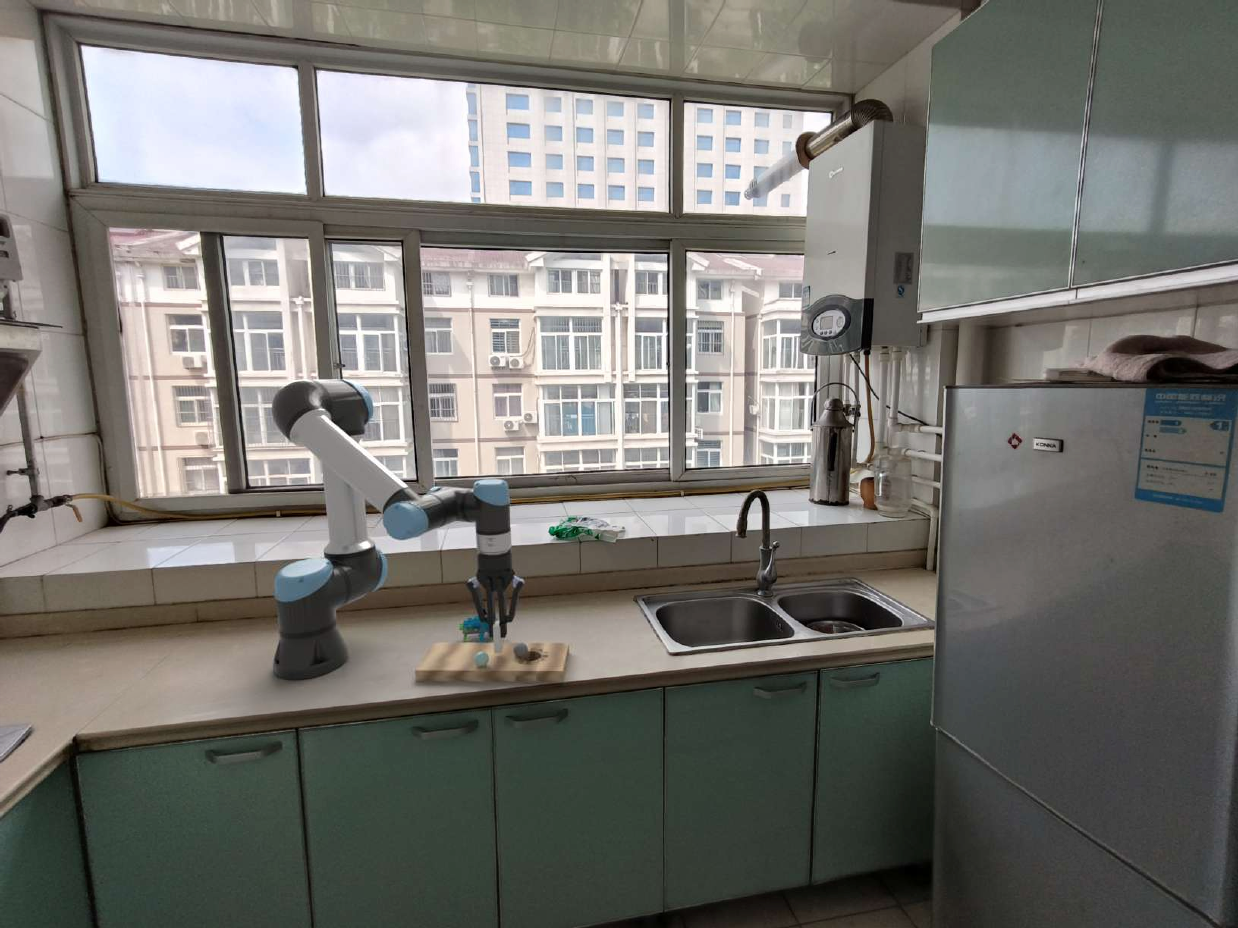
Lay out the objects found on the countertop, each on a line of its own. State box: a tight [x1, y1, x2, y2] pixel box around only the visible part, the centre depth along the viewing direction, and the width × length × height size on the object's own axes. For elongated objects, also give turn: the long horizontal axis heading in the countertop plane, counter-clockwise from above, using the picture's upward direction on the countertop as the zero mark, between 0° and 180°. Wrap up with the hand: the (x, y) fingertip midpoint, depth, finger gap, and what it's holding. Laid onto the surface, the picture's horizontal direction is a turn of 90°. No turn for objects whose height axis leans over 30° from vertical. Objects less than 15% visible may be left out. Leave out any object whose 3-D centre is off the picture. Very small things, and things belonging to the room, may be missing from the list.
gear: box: [458, 615, 499, 643], centre depth 143 cm, size 11×6×10 cm
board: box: [414, 642, 570, 683], centre depth 131 cm, size 32×13×2 cm, turn 89°
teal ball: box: [474, 651, 489, 667], centre depth 126 cm, size 3×3×3 cm
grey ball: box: [513, 642, 528, 657], centre depth 130 cm, size 3×3×3 cm
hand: (498, 650), depth 130 cm, fingers closed
